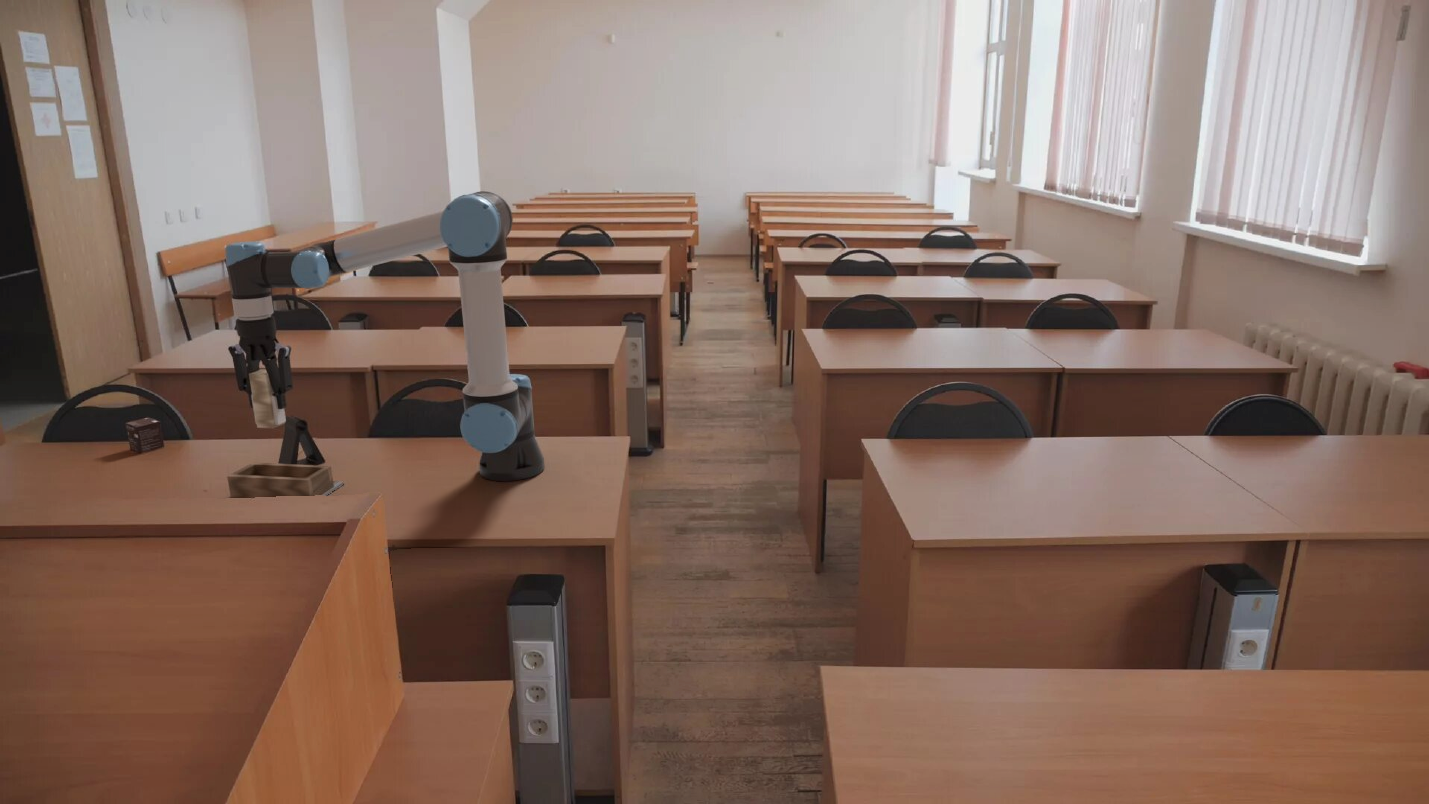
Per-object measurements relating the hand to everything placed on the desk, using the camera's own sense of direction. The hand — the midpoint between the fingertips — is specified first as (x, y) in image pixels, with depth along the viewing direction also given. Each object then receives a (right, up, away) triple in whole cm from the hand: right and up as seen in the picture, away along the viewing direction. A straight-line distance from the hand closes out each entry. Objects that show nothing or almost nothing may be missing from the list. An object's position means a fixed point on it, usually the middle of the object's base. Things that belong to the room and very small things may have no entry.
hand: (270, 422), depth 204 cm
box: (-50, -8, +38) cm, 64 cm away
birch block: (0, -1, 0) cm, 1 cm away
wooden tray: (+1, -16, +5) cm, 17 cm away
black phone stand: (-4, -11, +24) cm, 27 cm away
